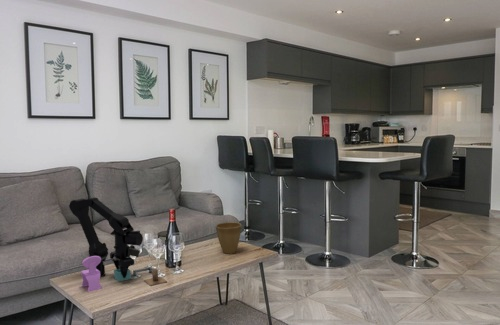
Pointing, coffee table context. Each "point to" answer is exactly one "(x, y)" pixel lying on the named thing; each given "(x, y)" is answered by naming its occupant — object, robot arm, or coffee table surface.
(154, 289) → the coffee table surface
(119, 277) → the teal socket block
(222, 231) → the plant pot
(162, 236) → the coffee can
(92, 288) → the toy chair
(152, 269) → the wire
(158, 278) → the peg
